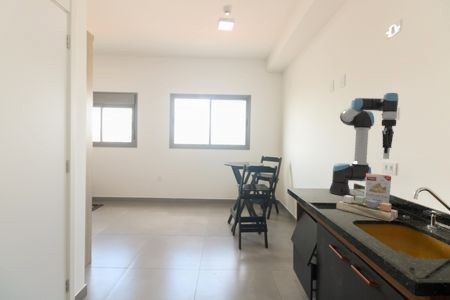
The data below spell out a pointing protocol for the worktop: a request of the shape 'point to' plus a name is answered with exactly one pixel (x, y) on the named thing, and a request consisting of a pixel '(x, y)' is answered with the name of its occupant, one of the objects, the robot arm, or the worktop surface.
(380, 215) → the key console
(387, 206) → the pink small block
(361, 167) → the robot arm
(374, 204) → the slate key
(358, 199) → the sage key
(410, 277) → the worktop surface
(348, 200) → the ivory key
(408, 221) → the worktop surface
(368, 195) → the cracker box
